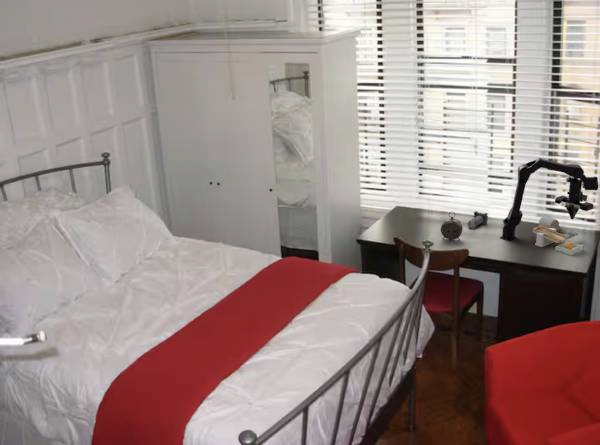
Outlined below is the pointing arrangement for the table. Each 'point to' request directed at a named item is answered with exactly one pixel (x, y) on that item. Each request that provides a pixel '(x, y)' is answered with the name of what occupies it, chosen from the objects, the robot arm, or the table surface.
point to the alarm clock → (451, 228)
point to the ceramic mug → (549, 222)
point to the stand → (541, 241)
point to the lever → (552, 234)
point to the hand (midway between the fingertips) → (572, 219)
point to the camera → (478, 219)
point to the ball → (569, 245)
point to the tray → (571, 252)
